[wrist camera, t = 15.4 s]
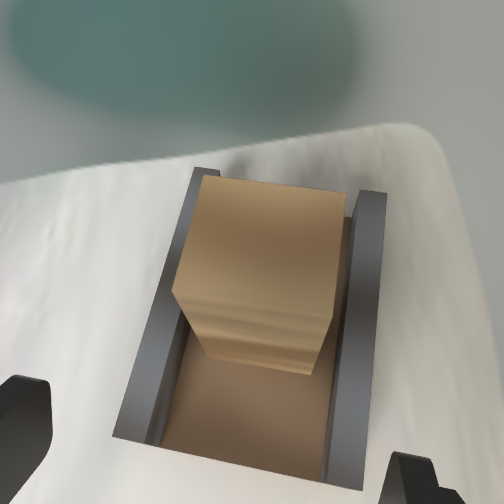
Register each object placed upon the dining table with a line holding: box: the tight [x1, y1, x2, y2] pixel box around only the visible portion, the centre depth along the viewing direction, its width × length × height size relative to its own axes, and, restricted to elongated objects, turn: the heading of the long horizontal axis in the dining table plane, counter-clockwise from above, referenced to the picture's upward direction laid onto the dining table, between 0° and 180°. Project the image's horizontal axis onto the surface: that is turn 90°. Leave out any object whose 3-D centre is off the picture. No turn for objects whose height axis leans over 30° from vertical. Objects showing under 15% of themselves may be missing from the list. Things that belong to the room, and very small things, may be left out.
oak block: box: [172, 175, 347, 375], centre depth 17 cm, size 4×4×8 cm
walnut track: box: [112, 167, 387, 491], centre depth 20 cm, size 12×9×4 cm
